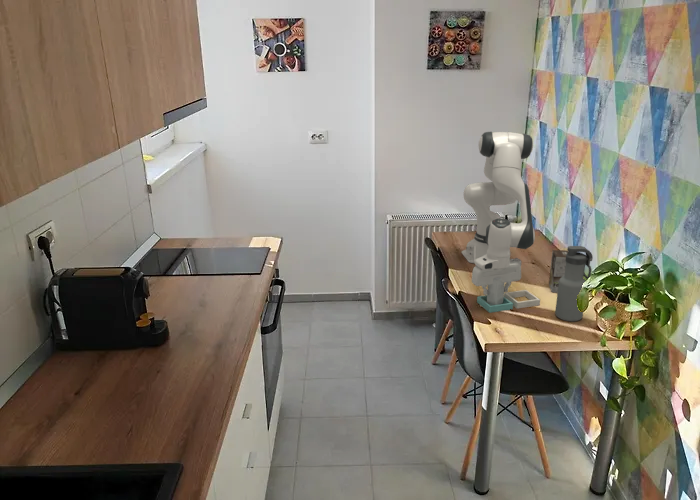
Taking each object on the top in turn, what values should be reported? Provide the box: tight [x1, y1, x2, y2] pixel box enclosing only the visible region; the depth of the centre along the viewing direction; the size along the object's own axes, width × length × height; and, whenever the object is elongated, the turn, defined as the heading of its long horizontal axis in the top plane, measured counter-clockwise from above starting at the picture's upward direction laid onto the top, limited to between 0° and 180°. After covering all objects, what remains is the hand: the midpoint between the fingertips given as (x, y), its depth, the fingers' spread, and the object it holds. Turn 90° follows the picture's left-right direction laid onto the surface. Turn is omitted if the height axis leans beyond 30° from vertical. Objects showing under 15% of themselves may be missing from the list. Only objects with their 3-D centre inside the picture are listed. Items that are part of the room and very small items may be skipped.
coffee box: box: [548, 249, 568, 293], centre depth 228 cm, size 9×6×16 cm
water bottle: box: [554, 245, 593, 322], centre depth 202 cm, size 10×10×28 cm
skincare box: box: [487, 278, 506, 306], centre depth 214 cm, size 6×4×12 cm
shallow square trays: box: [476, 289, 541, 313], centre depth 218 cm, size 10×22×2 cm, turn 105°
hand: (495, 292), depth 215 cm, fingers closed on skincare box, 7 cm apart
